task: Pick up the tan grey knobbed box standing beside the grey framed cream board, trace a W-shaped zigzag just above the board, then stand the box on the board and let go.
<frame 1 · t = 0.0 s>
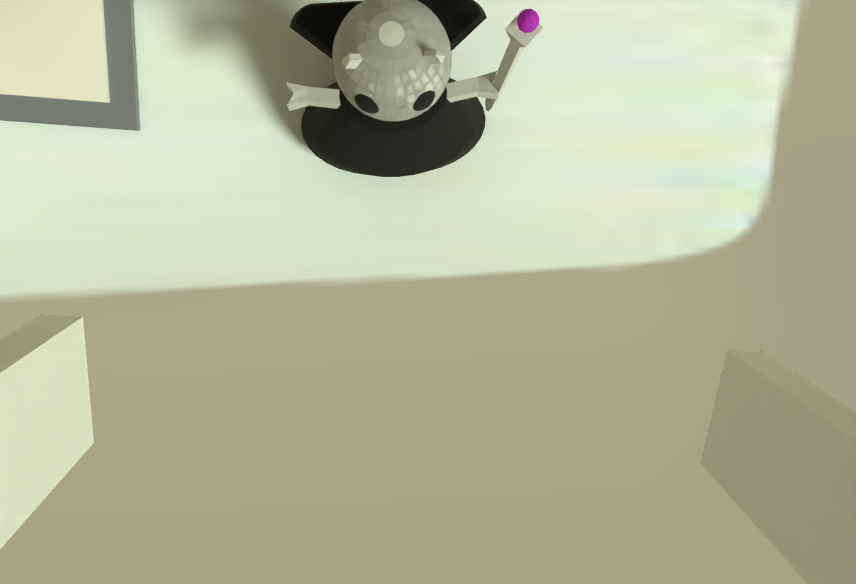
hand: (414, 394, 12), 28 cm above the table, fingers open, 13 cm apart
toy: (396, 100, 38), on the table
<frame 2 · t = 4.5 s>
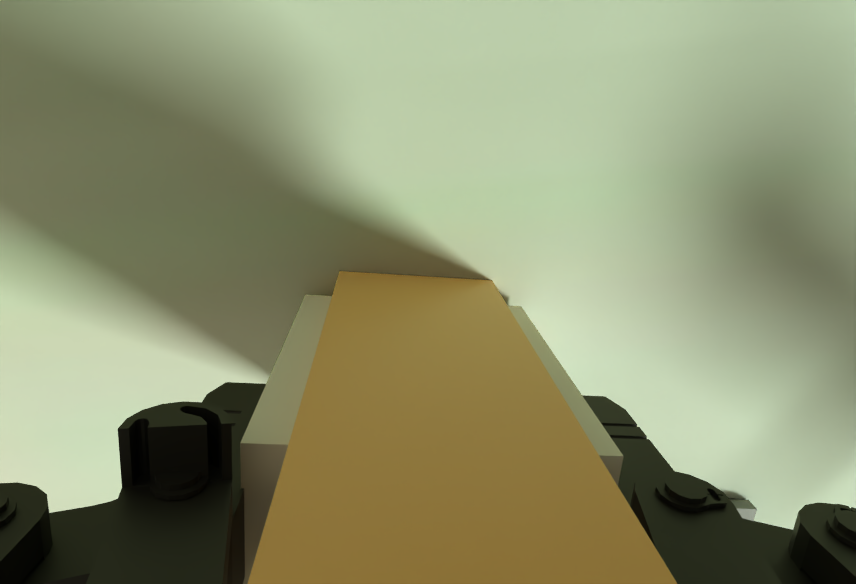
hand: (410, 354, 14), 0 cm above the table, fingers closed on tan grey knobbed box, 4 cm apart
tan grey knobbed box: (410, 346, 15), on the table, touching gripper
when the fingers open (2 cm above the table, at t = 12.6 s): tan grey knobbed box stays where it is, resting on grey framed cream board.
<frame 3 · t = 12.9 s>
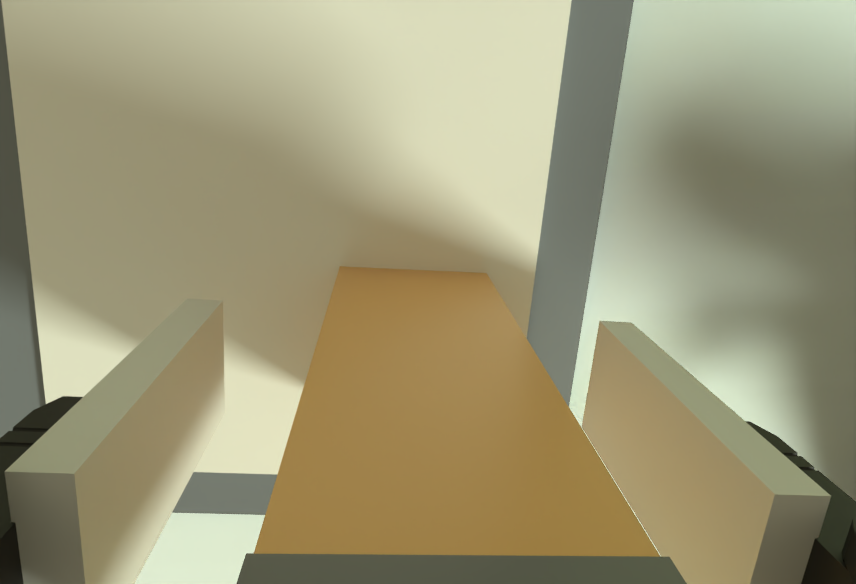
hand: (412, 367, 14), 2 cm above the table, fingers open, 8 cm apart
tan grey knobbed box: (409, 338, 15), point 1 cm above the table, touching grey framed cream board
grey framed cream board: (296, 148, 14), on the table
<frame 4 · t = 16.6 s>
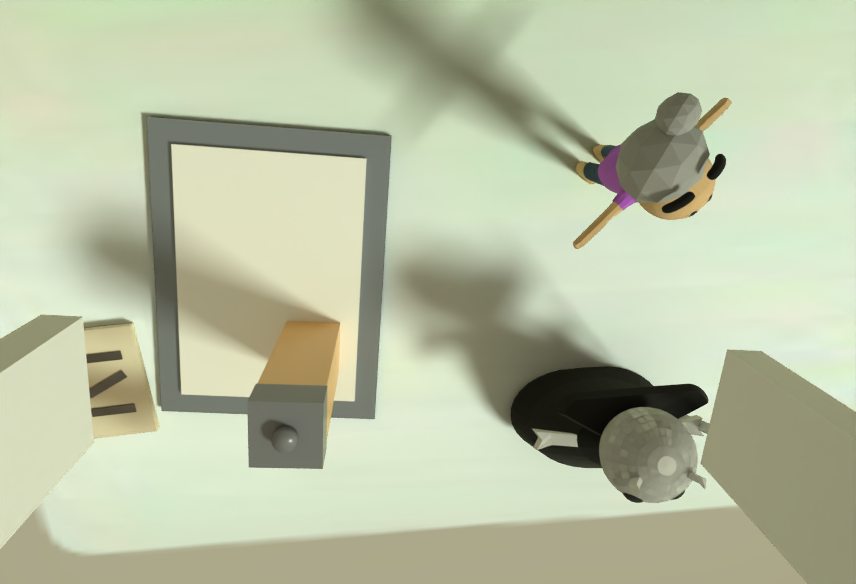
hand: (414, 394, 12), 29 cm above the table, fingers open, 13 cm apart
tan grey knobbed box: (313, 346, 42), point 1 cm above the table, touching grey framed cream board
word card: (110, 380, 42), on the table
toy 2: (580, 150, 40), on the table
grey framed cream board: (271, 279, 41), on the table
toy: (585, 386, 45), on the table
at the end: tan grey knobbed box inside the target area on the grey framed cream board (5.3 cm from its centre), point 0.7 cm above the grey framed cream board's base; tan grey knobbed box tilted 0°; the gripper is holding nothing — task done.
